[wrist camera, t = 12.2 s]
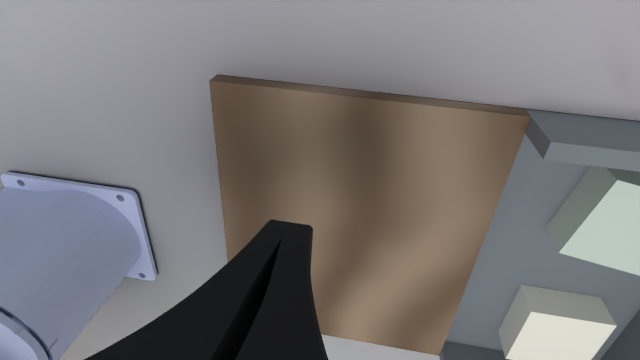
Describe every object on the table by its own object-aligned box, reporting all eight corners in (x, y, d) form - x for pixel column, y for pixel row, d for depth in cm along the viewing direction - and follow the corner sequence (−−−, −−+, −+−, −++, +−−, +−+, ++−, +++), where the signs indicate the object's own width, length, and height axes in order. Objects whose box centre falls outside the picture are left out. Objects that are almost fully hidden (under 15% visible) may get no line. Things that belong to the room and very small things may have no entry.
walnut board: (238, 307, 29) (233, 318, 28) (217, 74, 19) (209, 80, 18) (438, 342, 27) (439, 355, 27) (524, 108, 18) (531, 117, 17)
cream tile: (498, 331, 25) (505, 358, 24) (521, 284, 23) (531, 311, 21) (569, 343, 25) (581, 372, 23) (600, 297, 22) (616, 325, 21)
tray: (438, 342, 27) (443, 390, 25) (524, 108, 18) (551, 141, 15) (599, 371, 26) (625, 425, 23) (787, 137, 17) (872, 180, 14)
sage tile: (545, 227, 21) (558, 252, 19) (596, 157, 18) (617, 180, 16) (626, 250, 20) (646, 277, 19) (689, 183, 18) (719, 208, 16)
